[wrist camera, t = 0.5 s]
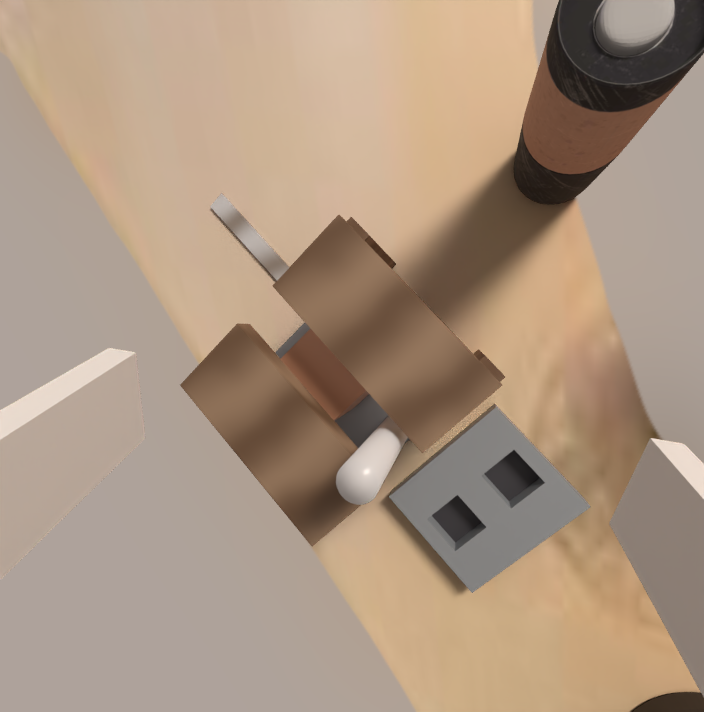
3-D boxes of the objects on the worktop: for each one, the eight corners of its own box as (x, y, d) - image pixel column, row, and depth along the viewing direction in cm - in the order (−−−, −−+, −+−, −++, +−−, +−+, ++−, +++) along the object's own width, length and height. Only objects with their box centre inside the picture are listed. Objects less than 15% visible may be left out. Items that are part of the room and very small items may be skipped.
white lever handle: (465, 388, 42) (468, 440, 21) (378, 463, 45) (305, 575, 24) (357, 273, 44) (265, 220, 24) (280, 352, 47) (136, 365, 26)
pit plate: (584, 498, 40) (590, 506, 38) (471, 581, 43) (472, 592, 41) (494, 403, 42) (496, 407, 40) (392, 489, 45) (388, 496, 43)
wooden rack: (507, 379, 42) (530, 403, 27) (368, 496, 46) (325, 572, 31) (272, 135, 46) (185, 44, 32) (166, 261, 51) (47, 231, 36)
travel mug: (584, 215, 39) (703, 98, 20) (500, 200, 41) (534, 79, 22) (610, 130, 38) (761, -79, 19) (523, 118, 40) (579, -83, 21)
